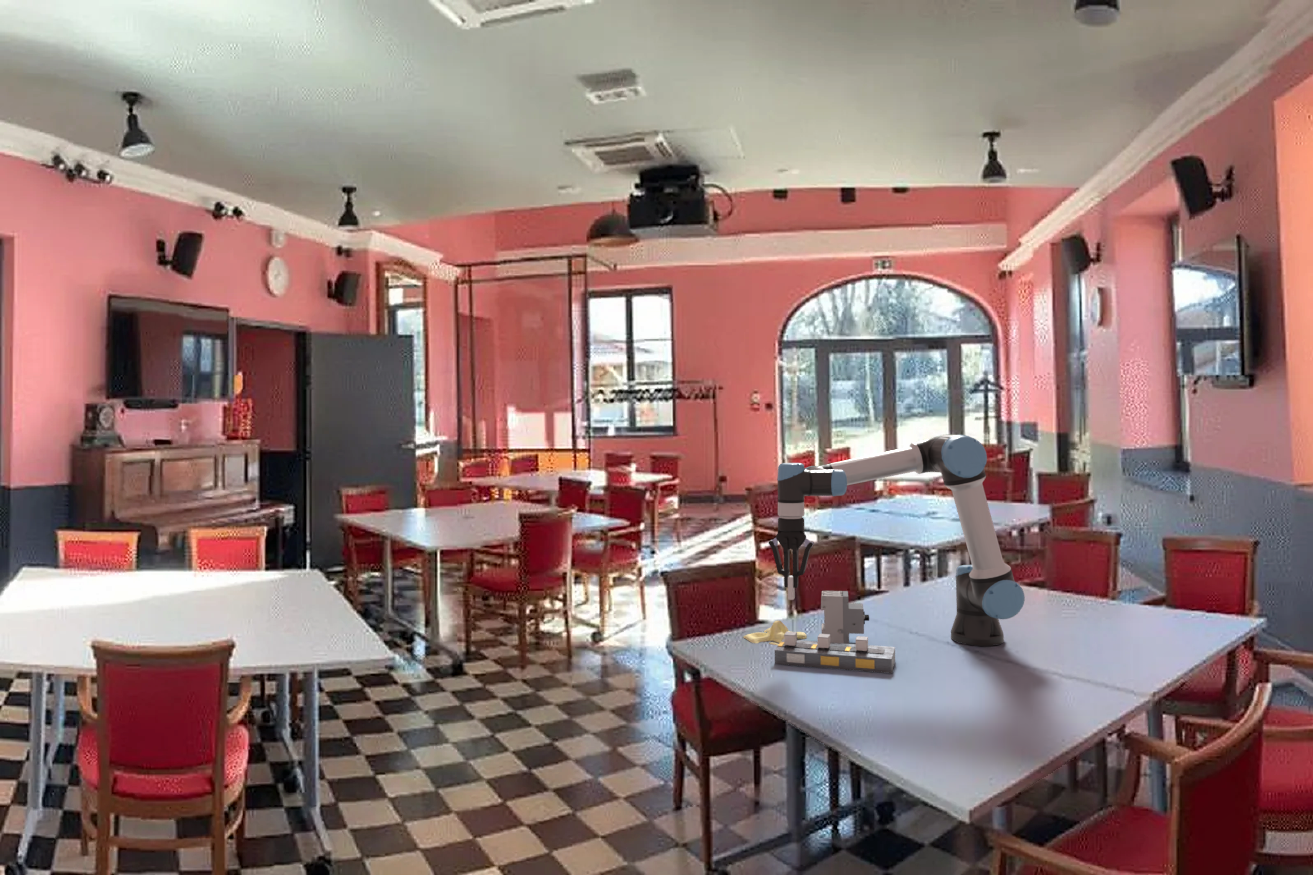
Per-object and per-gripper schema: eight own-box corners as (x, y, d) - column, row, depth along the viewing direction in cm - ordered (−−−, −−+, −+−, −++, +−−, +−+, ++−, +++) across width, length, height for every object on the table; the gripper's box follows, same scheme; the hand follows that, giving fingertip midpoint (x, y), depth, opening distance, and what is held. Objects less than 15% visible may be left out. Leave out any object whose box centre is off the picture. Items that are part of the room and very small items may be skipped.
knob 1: (797, 642, 244) (797, 632, 244) (794, 645, 241) (794, 635, 240) (786, 641, 245) (786, 631, 245) (784, 645, 242) (784, 634, 241)
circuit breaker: (869, 646, 254) (869, 596, 254) (821, 644, 257) (820, 596, 256) (868, 639, 261) (867, 591, 261) (821, 638, 264) (821, 590, 264)
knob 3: (868, 647, 237) (867, 636, 237) (866, 651, 234) (866, 640, 234) (857, 646, 238) (857, 636, 238) (855, 650, 235) (855, 639, 235)
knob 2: (830, 644, 241) (830, 634, 241) (828, 648, 237) (828, 637, 237) (819, 644, 242) (819, 633, 242) (817, 647, 238) (817, 636, 238)
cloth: (734, 642, 264) (734, 622, 264) (764, 629, 279) (764, 610, 279) (798, 653, 251) (798, 632, 251) (826, 639, 266) (825, 619, 265)
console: (895, 661, 239) (895, 646, 239) (891, 674, 227) (891, 658, 227) (783, 652, 250) (783, 638, 250) (774, 664, 238) (774, 649, 238)
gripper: (815, 516, 243) (816, 597, 243) (771, 514, 247) (771, 594, 248) (811, 519, 235) (812, 603, 236) (765, 517, 240) (766, 600, 240)
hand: (791, 598), depth 242 cm, fingers closed
